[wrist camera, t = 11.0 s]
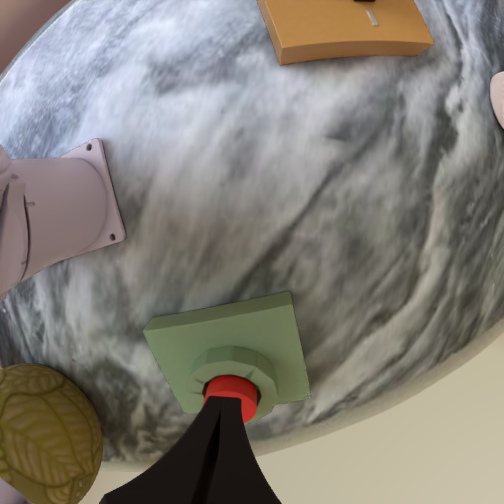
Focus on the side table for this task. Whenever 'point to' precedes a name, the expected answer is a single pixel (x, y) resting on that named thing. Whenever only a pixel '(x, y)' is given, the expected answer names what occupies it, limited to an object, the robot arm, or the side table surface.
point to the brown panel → (343, 28)
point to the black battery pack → (365, 0)
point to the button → (235, 392)
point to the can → (497, 96)
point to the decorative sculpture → (47, 435)
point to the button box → (232, 351)
